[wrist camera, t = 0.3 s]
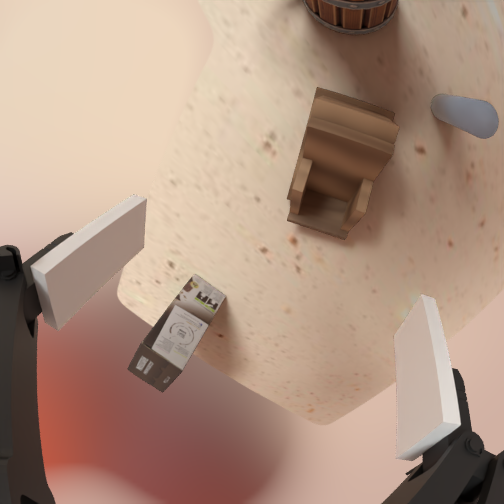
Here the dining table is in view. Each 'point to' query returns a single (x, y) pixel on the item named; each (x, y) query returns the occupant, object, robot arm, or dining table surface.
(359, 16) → the mug
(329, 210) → the socket block
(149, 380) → the coffee box
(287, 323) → the dining table surface
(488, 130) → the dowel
